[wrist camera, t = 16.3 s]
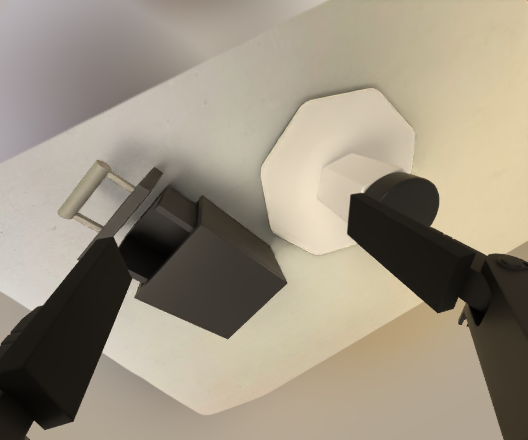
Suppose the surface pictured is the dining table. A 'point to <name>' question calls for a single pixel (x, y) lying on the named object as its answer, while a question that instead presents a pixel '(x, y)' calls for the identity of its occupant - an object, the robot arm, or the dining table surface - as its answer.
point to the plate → (328, 162)
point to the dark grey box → (215, 275)
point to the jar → (377, 188)
